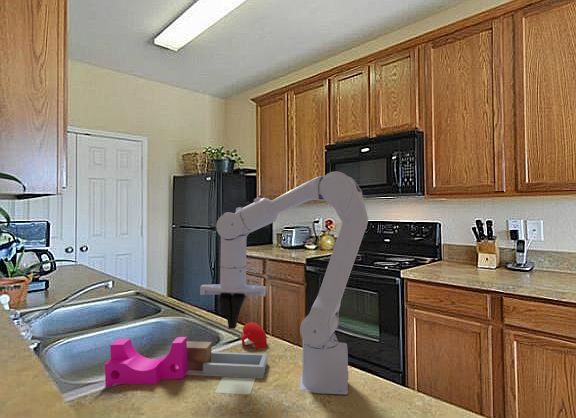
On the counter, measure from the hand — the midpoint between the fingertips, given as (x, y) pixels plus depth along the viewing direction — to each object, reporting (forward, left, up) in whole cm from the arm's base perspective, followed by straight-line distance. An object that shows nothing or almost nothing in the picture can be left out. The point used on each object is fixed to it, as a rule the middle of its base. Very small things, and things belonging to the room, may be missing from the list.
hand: (232, 327), depth 86 cm
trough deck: (+2, 0, -10) cm, 10 cm away
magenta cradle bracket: (+17, +6, -10) cm, 20 cm away
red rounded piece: (-2, -16, -10) cm, 19 cm away
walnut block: (+8, 0, -9) cm, 12 cm away
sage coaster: (-2, +8, -10) cm, 13 cm away
